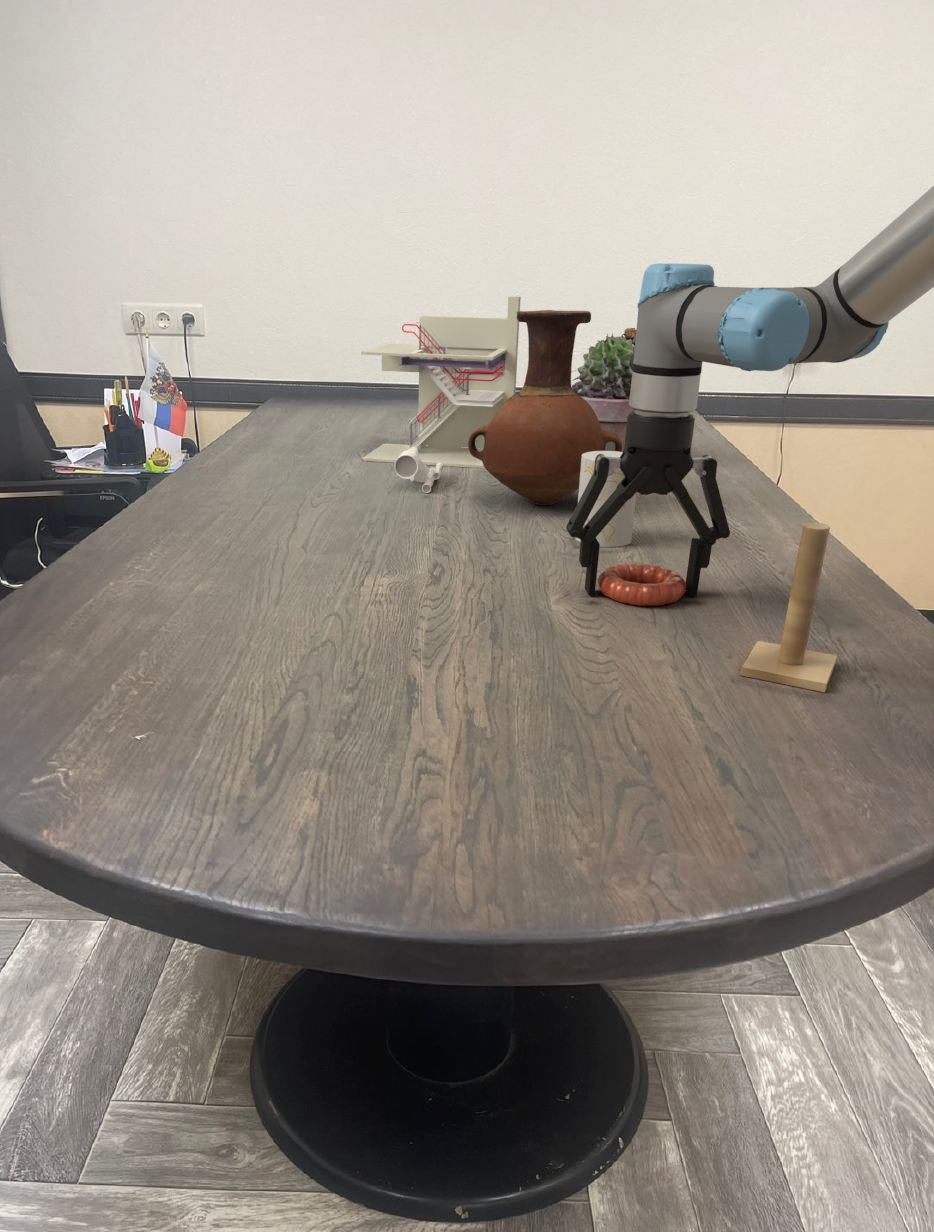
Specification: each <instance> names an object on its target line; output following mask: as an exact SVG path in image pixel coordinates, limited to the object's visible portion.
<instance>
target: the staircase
mask: <svg viewBox="0 0 934 1232" xmlns="http://www.w3.org/2000/svg"><path fill="white" fill-rule="evenodd" d="M507 297H508V299H507V318H503V317H474V316H473V317H471V316H437V315H420V316H419V321H416V324H415V323H404V324H403V325H402V326H401V331H402V332H403V333H406V334H407V333H409V334H414V335H415V337H416V338H417V339H418V344H402V343H401V344H400V343H383V344H381V345H378V346H375V347H372V348H369V349H365V350H362V351H361V352H360V354H361V356H362V355H364V356H366V355H367V356H368V355H369V356H381V372H402V373H403V372H404V373H418V407H417V408H418V411H417V412H418V413H417V414H416V415H415V416H414V417H413V418H412V419H411V420H410V421H409V422H408V425H410V426H409V427H410V428H409V430H410V432H409V444H399V443H383V444H381V445H379V446H378V447H377V448H375V449H373V450H372V451H371V452H369V453H367V454H366V455H364V456H363V457H362V458H361V461H362V462H363V461H364V462H376V463H377V462H378V463H391V464H393V463H394V464H395V462H396V460H397V459H398V457H399V455H400V454H401V453H402V452H403V451H406V450H408V449H410V448H412V447H416V448H417V449H418V453H419V458H420V460H421V461H422V462H423V463H424V464H425V465H426V466H436V464H437V463H442V464H443V467H456V468H470V469H471V468H472V469H485V467H484V466H483V462H482V461H481V460H480V459H477V458H475V457H473V456H472V455H471V454H470V451H469V448H461V447H468V442H469V438H470V436H471V434H472V433H473V432H474V431H475V430H476V429H477V428H480V427H483V426H487V425H488V424H489V423H490V422H491V420H492V418H493V416H494V415H495V413H496V412H497V410H498V409H499V408H500V406H501V405H502V404H503V403H504V402H505V401H506V400H508V399H509V398H510V397H512V396H513V395H514V394H516V392H517V391H516V390H517V389H516V388H517V371H518V353H519V335H520V322H519V321H518V320H517V311H521V296H507ZM418 324H419V325H418ZM405 326H410V327H417V329H418V334H419V335H418V334H417V333H416V332H415V331H412V330H408V331H407V330H404V327H405ZM413 421H415V422H414V423H412V422H413ZM417 422H418V423H417ZM413 426H414V427H415V428H414V431H415V432H414V438H413ZM416 438H417V439H416ZM415 439H416V441H414V440H415ZM413 441H414V442H413ZM484 442H485V440H484V436H483V435H479V436H477V438H476V439H475V446H476V449H477V450H478V451H479V452H480V451H483V449H484ZM420 445H421V446H420ZM426 445H428V446H426ZM478 448H480V449H478Z"/></svg>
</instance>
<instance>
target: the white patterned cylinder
mask: <svg viewBox="0 0 934 1232" xmlns="http://www.w3.org/2000/svg"><path fill="white" fill-rule="evenodd" d="M622 453H623V452H618V451H592V452H586V453H583V454H582V458H581V470H580V482H579V489H578V493H577V494H578V496H577V503H578V502H579V500H580V498H581V496H582V494H583V492H584V490H585V488H586V486H587V485H588V483H589V481H590V479H591V477H592V475H593V472H594V465H595V458H596V456H597V455H598V454H603V455H605V456H606V457H620V456H621V455H622ZM624 477H625V476H624V474H623V472H622V471H621V469H620V467H619V468H616V469H615V470H614V473H613V474H612V475H611V476H608V477H607V480H606V483H605V485H604V487H603V489H602V491H601V493H600V495H599V497H598V499H597V501H596V503H595V505H594V507H593V509H592V510H591V512H590V514H589V516H588V518H587V520H586V522H585V524H584V526H585V525H586V524H587V523H588V522H589V520H590V519H591V518H592V517H593V516H594V515H595V513H596V512H597V511H598V510H599V509H600V507H601V506H602V505H603V504H604V503H605V501H606V500H607V499H608V498H609V497H610V496H611V494H612V493H613V492H614V491H615V490H616V487H617V485H618V484H619V483H620V482H621V481H622V479H623V478H624ZM637 493H638V492H636V493H635V494H634V496H633V497H632V498H631V499H629V500H628V501H627V502H626V503H625V504H624V505H623V506H622V508H621V509H620V510H619V511H618V512H617V513H616V515H615V516H614V517H613V518H612V519H611V520H610V522H609V523H608V524H607V525H606V526H605V527H604V529H603V530H602V531H601V532H600V533H599V534H598V536H597V537H596V539H597V540H598V542H599V544H600V547H599V548H617V547H618V548H619V547H625V546H627V545H629V544H631V543H632V538H633V537H632V536H633V529H634V520H635V519H634V518H635V510H636V501H637ZM584 526H583V527H584ZM574 539H575V540H576V541H577V542H579V543H581V540H580V539H579V538H576V537H574Z"/></svg>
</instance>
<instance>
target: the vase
mask: <svg viewBox="0 0 934 1232" xmlns="http://www.w3.org/2000/svg"><path fill="white" fill-rule="evenodd" d="M517 320H518V321H519V323H526V328H527V339H528V340H527V341H528V351H527V352H528V353H527V354H528V355H527V356H528V361H527V369H526V374H525V380H524V383H523V386H522V388H521V390H519V391H518V392H515V394H514V395H513V396H512V397H510V398H509V399H508V400H506V401H505V402H504V403H503V404H502V405H501V406H500V408H499V409H498V410H497V412H496V413H495V415H494V416H493V418H492V420H491V422H490V423H489V424H488V425H487V426H483V427H480V428H477V429H476V430H475V431H474V432H473V433H472V434H471V436H470V438H469V442H468V448H469V451H470V454H471V455H472V456H473V457H475V458H477V459H480V460H481V461H482V462H483V466H484V467H485V468H484V470H486V471H487V473H489V474H490V475H491V476H492V477H493V478H495V479H496V480H497V481H498V482H500V484H502V485H504V486H505V487H506V488H508V489H509V490H510V491H513V492H514V493H516V494H518V495H519V496H521V497H523V498H525V499H526V500H527V501H529V502H531V503H533V504H535V505H539V506H551V505H554V504H557V503H558V502H560V501H561V500H562V499H564V498H567V496H569V495H570V494H572V493H574V492H576V491H579V482H580V470H581V458H582V454H583V453H586V452H592V451H606V448H605V446H606V444H607V443H608V442H611V441H612V442H614V443H615V451H618V452H622V443H621V440H620V438H619V437H618V436H617V435H616V434H614V433H612V432H609V431H606V430H603V429H602V428H601V426H600V423H599V420H598V418H597V416H596V414H595V412H594V410H593V409H592V407H591V406H590V405H589V404H588V403H587V401H586V400H584V399H583V398H582V397H581V396H579V395H578V394H577V393H575V392H574V391H573V389H572V368H573V367H572V365H573V356H574V355H573V354H574V348H575V342H576V334H577V328H578V326H579V325H581V324H589V323H590V322H591V321H592V313H591V311H589V310H556V309H555V310H554V309H543V310H540V309H539V310H520V311H517ZM479 435H483V436H484V440H485V442H484V449H483V451H480V452H479V451H478V450H477V449H476V446H475V439H476V438H477V436H479Z"/></svg>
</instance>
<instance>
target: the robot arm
mask: <svg viewBox="0 0 934 1232" xmlns="http://www.w3.org/2000/svg"><path fill="white" fill-rule="evenodd" d="M714 280H715V270H714V267H713V266H711V264H703V263H671V262H670V263H661V262H660V263H653V264H650V265H648V267H646V268H645V271H644V272H643V276H642V281H641V288H640V294H639V299H638V302H637V317H636V318H637V320H636V328H635V330H636V339H635V350H634V360H633V373H632V381H631V390H630V398H629V406H630V407H631V408H632V409H634V411H632V412H630V414H628V416H627V426H626V435H625V445H624V451H623V453H622V455H621V456H620V457H606V456H605V455H603V454H598V455H597V456H596V458H595V465H594V472H593V475H592V477H591V479H590V481H589V483H588V485H587V486H586V488H585V490H584V492H583V494H582V496H581V498H580V500H579V502H578V501H577V504H576V506H575V508H574V510H573V512H572V514H571V516H570V518H569V520H568V522H567V524H566V530H567V532H568V534H569V536H570V537H571V538H575V537H576V538H579V539H580V540H581V543H580V542H579V543H580V544H579V555H578V556H579V557H578V561H579V564H580V567H582V568H585V569H586V570H585V580H584V581H585V582H584V590H585V592H586V593H587V595H588V596H591V597H592V596H594V597H595V596H596V588H597V587H596V586H597V576H598V575H597V574H598V566H599V555H600V548H601V547H600V544H599V542H598V540H597V539H596V537H597V536H598V534H599V533H600V532H601V531H602V530H603V529H604V527H605V526H606V525H607V524H608V523H609V522H610V520H611V519H612V518H613V517H614V516H615V515H616V513H617V512H618V511H619V510H620V509H621V508H622V506H623V505H624V504H625V503H626V502H627V501H628V500H629V499H631V498H632V497H633V496H634V494H635V493H636V492H637V493H638V494H639V495H640V496H648V495H652V494H657V495H660V496H668V494H669V493H672V494H673V495H674V497H675V498H676V499H675V500H676V501H677V502H678V504H679V506H680V507H681V508H682V510H683V512H684V514H685V515H686V517H687V518H688V520H689V522H690V523H691V525H692V527H693V529H694V530H695V532H696V533H697V535H698V536H699V537H692V538H691V541H690V548H689V556H688V563H687V571H686V575H685V576H686V577H685V583H686V591H685V592H686V593H687V594H688V595H689V596H690V597H697V596H698V591H699V585H700V577H701V570H702V569H708V568H709V565H710V562H711V554H712V547H713V545H715V544H716V542H717V540H720V539H728V538H729V536H730V535H731V530H730V527H729V523H728V519H727V515H726V510H725V508H724V504H723V500H722V496H721V493H720V489H719V485H718V482H717V469H718V460H716V459H715V458H714V457H712V456H711V455H709V454H704V455H702V456H701V457H692V453H691V450H692V444H693V439H694V438H693V437H694V429H695V421H696V418H695V417H694V415H693V414H692V413H693V412H694V411H696V409H698V399H699V391H700V385H701V375H702V371H703V363H708V364H713V365H720V366H726V367H731V368H736V369H737V368H738V369H740V370H742V371H746V372H753V371H757V372H758V371H759V372H776V371H779V370H782V369H783V368H785V367H786V366H788V365H792V364H793V365H794V364H810V363H831V364H836V363H843V362H847V361H850V360H856V359H859V358H862V357H865V356H867V355H868V354H870V353H872V352H873V351H875V349H877V348H878V346H879V345H880V344H881V341H882V339H883V338H884V336H885V335H886V334H887V330H888V328H889V324H890V323H889V322H890V321H892V320H893V319H894V318H895V317H897V316H898V315H899V314H900V313H901V312H903V311H904V310H906V309H907V308H909V307H910V306H911V305H913V303H915V302H916V301H918V300H919V299H920V298H921V297H923V296H924V295H926V293H928V292H930V290H932V289H933V288H934V185H932V186H931V187H930V188H929V189H928V190H927V191H925V193H923V194H922V195H921V196H920V197H918V199H916V200H915V201H914V202H913V203H912V204H911V205H910V206H908V207H907V208H906V209H905V210H904V211H903V212H901V214H899V215H898V216H897V217H896V218H895V219H893V221H891V222H890V223H889V224H888V225H887V226H885V228H883V229H882V230H881V231H880V232H879V233H878V234H876V235H875V237H873V238H872V239H871V240H870V241H868V242H867V243H866V244H865V245H864V246H863V247H862V248H861V249H860V250H859V251H857V252H856V253H855V254H854V255H853V256H851V257H850V258H849V259H848V260H847V261H846V262H845V263H844V264H842V265H841V266H840V267H839V268H838V269H837V270H835V271H834V272H833V273H832V274H830V275H829V276H828V277H826V279H824V280H823V281H822V282H821V283H819V284H818V285H816V286H796V287H794V286H793V287H744V286H743V287H739V286H717V285H716V283H715V281H714ZM691 412H692V413H691ZM619 467H620V469H621V471H622V472H623V474H624V476H625V477H624V478H623V479H622V481H621V482H620V483H619V484H618V485H617V487H616V490H615V491H614V492H613V493H612V494H611V496H610V497H609V498H608V499H607V500H606V501H605V503H604V504H603V505H602V506H601V507H600V509H599V510H598V511H597V512H596V513H595V515H594V516H593V517H592V518H591V519H590V520H589V522H588V523H587V524H586V525H585V526H584V524H585V522H586V520H587V518H588V516H589V514H590V512H591V510H592V509H593V507H594V505H595V503H596V501H597V499H598V497H599V495H600V493H601V491H602V489H603V487H604V485H605V483H606V480H607V477H608V476H611V475H612V474H613V473H614V470H615V469H616V468H619ZM692 469H694V473H695V474H696V475H697V476H699V479H700V484H701V487H702V491H703V495H704V498H705V502H706V505H707V509H708V513H709V517H710V520H711V524H712V526H711V527H709V526H708V524H707V522H706V520H705V519H704V517H703V516H702V513H701V512H700V510H699V509H698V506H697V505H696V504H695V502H694V500H693V498H692V497H691V495H690V493H689V491H688V489H687V487H686V486H685V484H684V482H683V480H684V479H685V478H686V476H688V474H689V473H690V472H691V471H692ZM637 493H636V494H637ZM583 526H584V527H583Z"/></svg>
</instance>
